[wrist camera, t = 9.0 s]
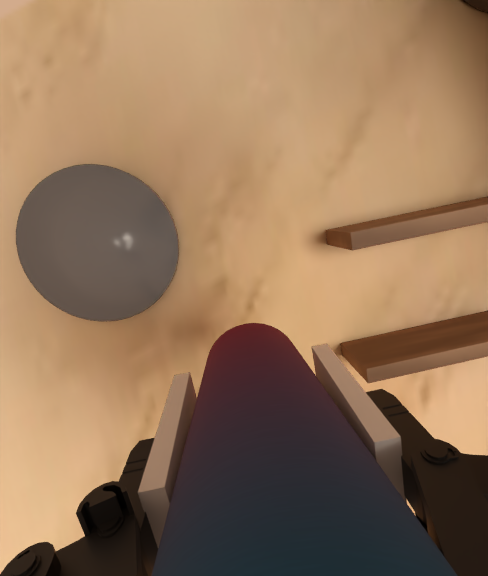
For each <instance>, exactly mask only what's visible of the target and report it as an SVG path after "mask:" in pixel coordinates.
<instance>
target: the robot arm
mask: <svg viewBox="0 0 488 576" xmlns="http://www.w3.org/2000/svg"><path fill="white" fill-rule="evenodd" d="M464 1H466V2H467V3H469V4H470V5H472V6H473V7H475V8H477V9H479V10H482V11H484V12H487V13H488V0H464ZM312 352H313V359H314V365H315V372H316V377H317V378H318V380H319V381H320V383H321V384H322V385H323V387H324V388H325V390H326V391H327V392H328V394H329V395H330V397H331V398H332V399H333V401H334V402H335V404H336V405H337V407H338V408H339V409H340V411H341V412H342V414H343V415H344V416H345V418H346V419H347V421H348V422H349V423H350V425H351V426H352V428H353V429H354V430H355V432H356V433H357V435H358V436H359V437H360V439H361V440H362V442H363V443H364V444H365V446H366V447H367V449H368V450H369V451H370V453H371V454H372V456H373V457H374V458H375V460H376V461H377V463H378V464H379V466H380V467H381V468H382V470H383V471H384V473H385V474H386V475H387V477H388V478H389V480H390V481H391V482H392V484H393V485H394V487H395V488H396V489H397V491H398V492H399V494H400V495H401V496H402V498H403V499H404V501H405V502H406V498H407V500H408V502H409V503H410V505H411V506H412V508H413V509H414V511H415V515H416V517H417V519H418V520H419V522H420V523H421V524H422V526H423V527H424V529H425V530H426V532H427V533H428V534H429V536H430V537H431V539H432V540H433V541H434V543H435V544H436V546H437V547H438V548H439V550H440V551H441V553H442V554H443V555H444V557H445V559H446V560H447V561H448V563H449V564H450V566H451V567H452V568H453V570H454V571H455V573H456V574H457V575H458V576H488V456H485V455H469V454H463V453H460V452H459V451H458V449H457V448H455V447H454V446H452V445H451V444H449V443H447V442H444V441H441V440H439V439H434V438H433V437H432V436H431V435H430V434H429V432H428V431H427V430H426V429H425V428H424V427H423V426H422V425H421V424H420V423H419V422H418V421H417V420H416V419H415V417H414V416H413V415H412V414H411V413H409V412H408V410H407V409H406V408H405V407H404V406H402V404H401V402H400V401H399V400H398V399H397V398H396V397H395V396H394V395H392V394H390V393H388V392H387V391H385V390H383V389H379V390H374V391H370V392H365V391H364V390H363V388H362V387H361V386H360V385H359V383H358V382H357V381H356V380H355V378H354V377H353V376H352V375H351V373H350V372H349V371H348V370H347V368H346V367H345V366H344V364H343V363H342V362H341V361H340V359H339V358H338V357H337V356H336V354H335V353H334V352H333V351H332V349H331V348H330V347H329V345H328V344H322V345H317V346H312ZM196 401H197V398H196V394H195V390H194V386H193V383H192V379H191V375H190V372H188V373H183V374H178V375H174V378H173V381H172V384H171V387H170V391H169V394H168V397H167V400H166V403H165V407H164V410H163V413H162V416H161V419H160V423H159V426H158V429H157V432H156V436H155V438H151V439H146V440H142V441H139V442H138V444H137V445H136V446H135V447H134V448H133V450H132V451H131V452H130V455H129V457H128V460H127V462H126V465H125V467H124V470H123V472H122V473H123V474H122V475H121V477H120V480H119V482H114V481H112V482H109V483H105V484H103V485H101V486H99V487H97V488H95V489H94V490H93V491H91V492H90V493H89V494H88V495H87V496H86V497H85V498H84V499H83V501H82V502H81V503H80V505H79V507H78V509H77V512H76V514H77V517H78V519H79V522H80V524H81V527H82V529H83V532H84V534H85V537H83V538H81V539H80V540H78V541H76V542H74V543H72V544H70V545H68V546H66V547H64V548H62V549H60V550H58V551H55V549H54V547H53V545H52V544H50V543H48V542H41V543H37V544H35V545H32V546H30V547H28V548H26V549H25V550H24V551H22V552H21V553H19V554H18V555H17V556H16V557H15V558H14V559H13V560H12V561H11V562H9V563H8V564H7V566H6V567H5V569H4V570H3V571H2V573H1V574H0V576H151V575H152V571H153V567H154V563H155V560H156V556H157V552H158V548H159V544H160V540H161V536H162V533H163V529H164V525H165V521H166V517H167V513H168V509H169V505H170V502H171V498H172V494H173V490H174V486H175V482H176V478H177V474H178V471H179V467H180V463H181V459H182V455H183V451H184V447H185V444H186V440H187V436H188V432H189V428H190V424H191V420H192V416H193V413H194V409H195V405H196ZM406 503H407V502H406Z"/></svg>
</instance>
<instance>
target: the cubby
mask: <svg viewBox="0 0 488 576" xmlns="http://www.w3.org/2000/svg"><path fill="white" fill-rule="evenodd" d="M485 222H488V197H484V198H479V199H475V200H470V201H465V202H460V203H455V204H450V205H445V206H441V207H436V208H431V209H426V210H421V211H416V212H411V213H407V214H402V215H397V216H392V217H387V218H382V219H377V220H372V221H368V222H363V223H358V224H353V225H348V226H343V227H338V228H334V229H329V230H326V237H327V244H328V245H332V246H336V247H341V248H345V249H349V250H356V249H361V248H366V247H370V246H375V245H380V244H385V243H389V242H394V241H399V240H404V239H409V238H413V237H418V236H423V235H428V234H433V233H437V232H442V231H447V230H452V229H457V228H461V227H466V226H471V225H476V224H480V223H485ZM341 348H342V355H343V356H344V358H345V359H346V360H347V361H348V362H349V363H350V364H351V365H352V366H353V367H354V368H355V370H356V371H357V372H358V373H359V374H360V375H361V376H362V377H363V378H364V379H365V380H366V382H367V383H372V382H376V381H381V380H385V379H390V378H394V377H398V376H403V375H407V374H412V373H416V372H421V371H425V370H429V369H434V368H438V367H443V366H447V365H452V364H456V363H461V362H465V361H469V360H474V359H478V358H483V357H487V356H488V311H485V312H481V313H476V314H472V315H467V316H462V317H458V318H453V319H449V320H444V321H440V322H435V323H431V324H426V325H422V326H417V327H412V328H408V329H403V330H399V331H394V332H390V333H385V334H381V335H376V336H372V337H367V338H362V339H358V340H353V341H349V342H344V343H341Z"/></svg>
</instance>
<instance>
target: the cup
mask: <svg viewBox="0 0 488 576" xmlns="http://www.w3.org/2000/svg"><path fill="white" fill-rule="evenodd" d="M151 576H458V575H457V574H456V573H455V571H454V570H453V568H452V567H451V566H450V564H449V563H448V561H447V560H446V559H445V557H444V555H443V554H442V553H441V551H440V550H439V548H438V547H437V546H436V544H435V543H434V541H433V540H432V539H431V537H430V536H429V534H428V533H427V532H426V530H425V529H424V527H423V526H422V524H421V523H420V522H419V520H418V519H417V517H416V516H415V515H414V513H413V512H412V510H411V509H410V508H409V506H408V505H407V503H406V502H405V501H404V499H403V498H402V496H401V495H400V494H399V492H398V491H397V489H396V488H395V487H394V485H393V484H392V482H391V481H390V480H389V478H388V477H387V475H386V474H385V473H384V471H383V470H382V468H381V467H380V466H379V464H378V463H377V461H376V460H375V458H374V457H373V456H372V454H371V453H370V451H369V450H368V449H367V447H366V446H365V444H364V443H363V442H362V440H361V439H360V437H359V436H358V435H357V433H356V432H355V430H354V429H353V428H352V426H351V425H350V423H349V422H348V421H347V419H346V418H345V416H344V415H343V414H342V412H341V411H340V409H339V408H338V407H337V405H336V404H335V402H334V401H333V399H332V398H331V397H330V395H329V394H328V392H327V391H326V390H325V388H324V387H323V385H322V384H321V383H320V381H319V380H318V378H317V377H316V376H315V374H314V373H313V371H312V370H311V369H310V367H309V366H308V364H307V363H306V362H305V360H304V359H303V357H302V356H301V355H300V353H299V352H298V350H297V349H296V348H295V346H294V345H293V343H292V342H291V341H290V340H289V338H288V337H287V336H286V335H285V334H284V333H282V332H281V331H280V330H278V329H276V328H274V327H272V326H269V325H265V324H259V323H249V324H243V325H239V326H236V327H234V328H232V329H230V330H228V331H226V332H225V333H224V334H223V335H221V336H220V337H219V338H218V339H217V341H216V342H215V343H214V345H213V346H212V348H211V350H210V352H209V355H208V358H207V362H206V366H205V370H204V374H203V378H202V382H201V385H200V389H199V393H198V397H197V401H196V405H195V409H194V413H193V416H192V420H191V424H190V428H189V432H188V436H187V440H186V444H185V447H184V451H183V455H182V459H181V463H180V467H179V471H178V474H177V478H176V482H175V486H174V490H173V494H172V498H171V502H170V505H169V509H168V513H167V517H166V521H165V525H164V529H163V533H162V536H161V540H160V544H159V548H158V552H157V556H156V560H155V563H154V567H153V571H152V575H151Z"/></svg>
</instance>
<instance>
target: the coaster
mask: <svg viewBox="0 0 488 576" xmlns="http://www.w3.org/2000/svg"><path fill="white" fill-rule="evenodd" d="M16 244H17V251H18V255H19V259H20V262H21V265H22V267H23V269H24V272H25V273H26V275H27V277H28V279H29V280H30V282H31V283H32V284H33V286H34V287H35V288H36V290H37V291H38V292H39V293H40V294H41V295H42V296H43V297H44V298H45V299H46V300H48V301H49V302H50V303H51V304H53V305H54V306H56V307H57V308H59V309H61V310H62V311H64V312H66V313H68V314H71V315H73V316H76V317H79V318H83V319H87V320H93V321H115V320H121V319H125V318H129V317H132V316H134V315H136V314H139V313H141V312H142V311H144V310H146V309H147V308H149V307H150V306H151V305H152V304H154V303H155V302H156V301H157V300H158V299H159V298H160V297H161V296H162V294H163V293H164V292H165V290H166V289H167V288H168V286H169V284H170V282H171V281H172V279H173V276H174V274H175V271H176V267H177V263H178V256H179V241H178V235H177V230H176V227H175V224H174V221H173V219H172V216H171V214H170V212H169V210H168V209H167V207H166V205H165V204H164V202H163V201H162V200H161V199H160V197H159V196H158V195H157V194H156V193H155V192H154V191H153V190H152V189H151V188H150V187H149V186H148V185H146V184H145V183H144V182H142V181H141V180H139V179H138V178H136V177H134V176H132V175H131V174H129V173H126V172H124V171H122V170H119V169H116V168H112V167H109V166H103V165H95V164H84V165H76V166H71V167H68V168H64V169H62V170H59V171H57V172H55V173H53V174H51V175H50V176H48V177H46V178H45V179H44V180H42V181H41V182H40V183H39V184H38V185H37V186H36V187H35V188H34V189H33V190H32V191H31V192H30V194H29V195H28V197H27V198H26V200H25V202H24V204H23V206H22V208H21V210H20V213H19V217H18V221H17V228H16Z"/></svg>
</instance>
